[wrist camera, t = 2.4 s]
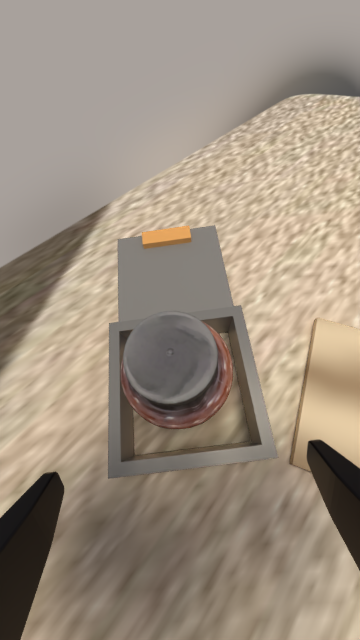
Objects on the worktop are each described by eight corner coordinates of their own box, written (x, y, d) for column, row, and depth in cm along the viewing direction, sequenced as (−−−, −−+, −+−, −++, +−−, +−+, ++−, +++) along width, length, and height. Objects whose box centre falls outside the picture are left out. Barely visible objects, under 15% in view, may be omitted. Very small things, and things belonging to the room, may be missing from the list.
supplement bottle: (159, 348, 22) (123, 279, 11) (225, 360, 21) (251, 298, 11) (142, 418, 20) (77, 410, 9) (214, 435, 19) (234, 448, 8)
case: (264, 451, 18) (278, 458, 15) (124, 469, 18) (108, 478, 15) (214, 232, 27) (216, 206, 23) (120, 245, 27) (109, 221, 24)
